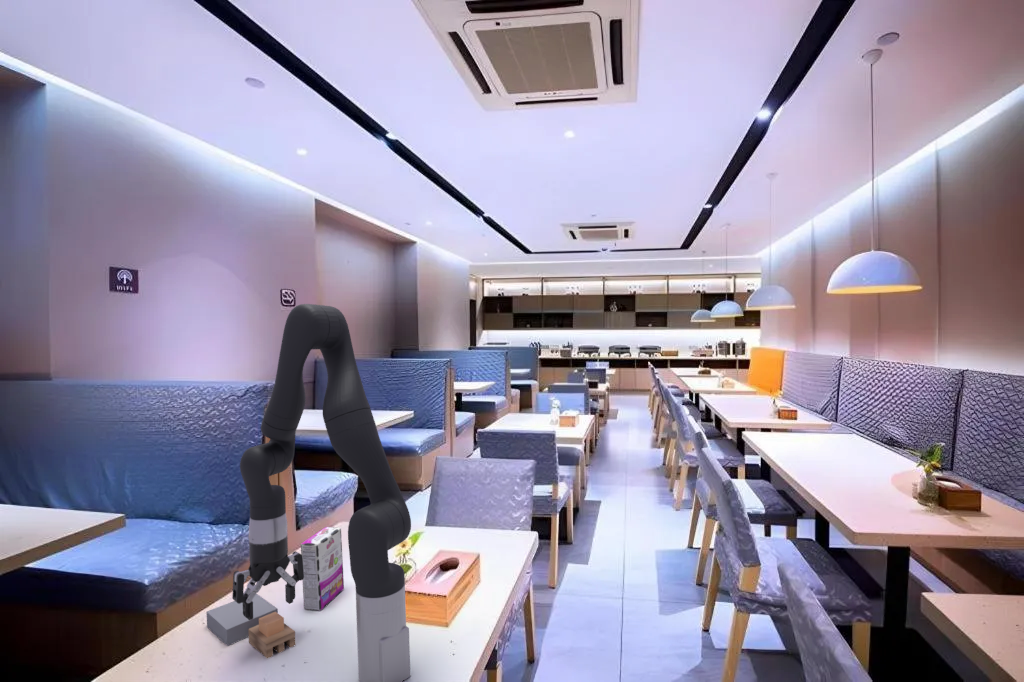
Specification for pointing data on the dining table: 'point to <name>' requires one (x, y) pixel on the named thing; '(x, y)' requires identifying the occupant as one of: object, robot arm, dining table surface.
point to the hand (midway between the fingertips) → (270, 609)
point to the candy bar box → (322, 568)
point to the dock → (237, 619)
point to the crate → (271, 624)
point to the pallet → (271, 640)
